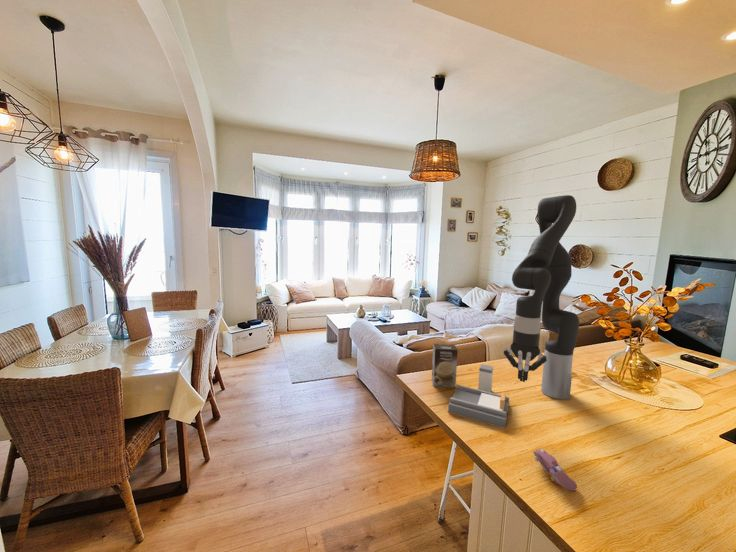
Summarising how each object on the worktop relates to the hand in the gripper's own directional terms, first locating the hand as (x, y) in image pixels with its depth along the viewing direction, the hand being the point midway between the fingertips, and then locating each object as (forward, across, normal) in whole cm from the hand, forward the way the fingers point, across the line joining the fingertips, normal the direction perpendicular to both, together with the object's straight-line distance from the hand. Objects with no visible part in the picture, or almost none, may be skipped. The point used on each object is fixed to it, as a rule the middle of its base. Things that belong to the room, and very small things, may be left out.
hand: (522, 380), depth 98 cm
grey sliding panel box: (+14, +13, 0) cm, 19 cm away
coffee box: (+14, +29, -12) cm, 34 cm away
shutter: (+11, +9, 0) cm, 14 cm away
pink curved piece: (+14, -9, +22) cm, 28 cm away
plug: (+14, +13, -14) cm, 24 cm away
